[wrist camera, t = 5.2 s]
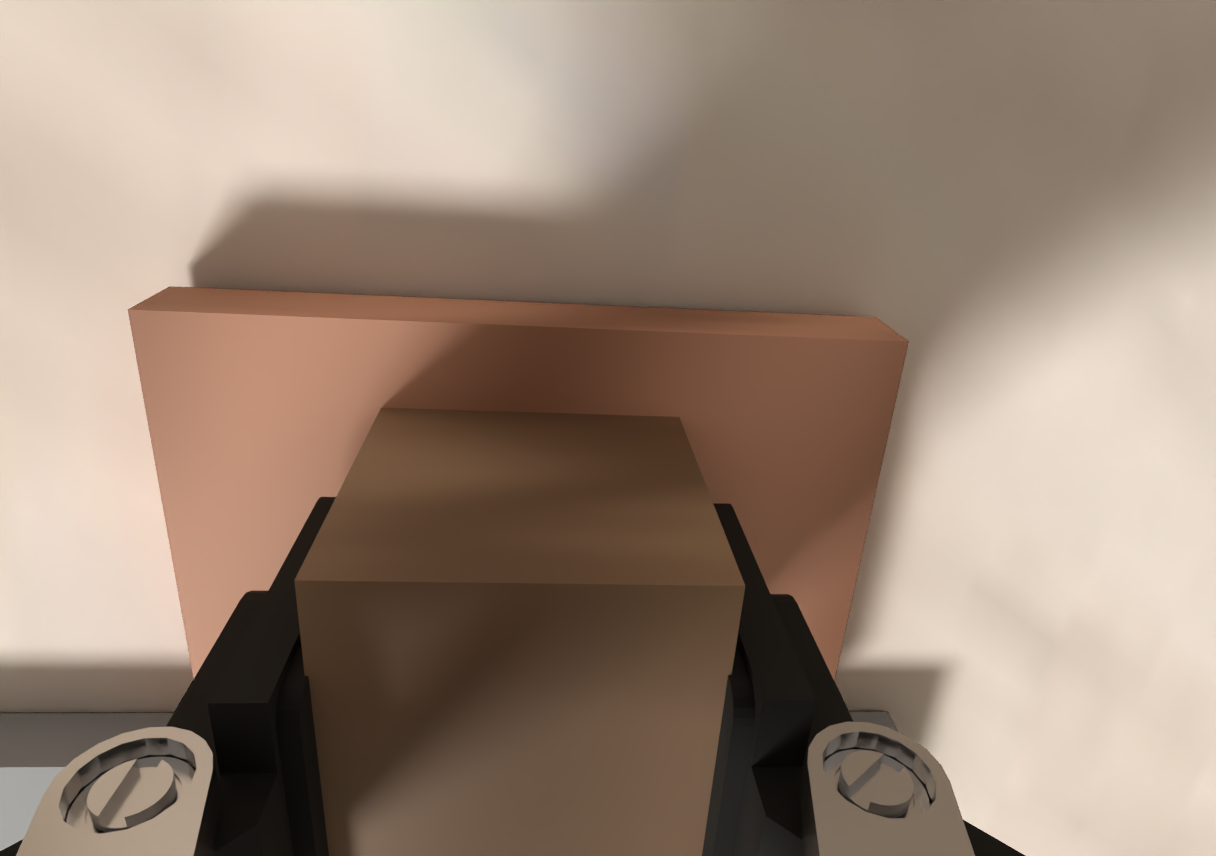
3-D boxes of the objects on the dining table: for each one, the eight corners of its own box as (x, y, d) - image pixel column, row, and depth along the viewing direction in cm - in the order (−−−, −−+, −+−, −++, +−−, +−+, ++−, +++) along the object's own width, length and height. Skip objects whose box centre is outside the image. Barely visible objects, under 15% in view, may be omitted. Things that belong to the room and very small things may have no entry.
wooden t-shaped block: (875, 317, 12) (1094, 477, 7) (797, 706, 15) (916, 1004, 10) (169, 286, 11) (-119, 446, 6) (235, 707, 14) (72, 1034, 9)
